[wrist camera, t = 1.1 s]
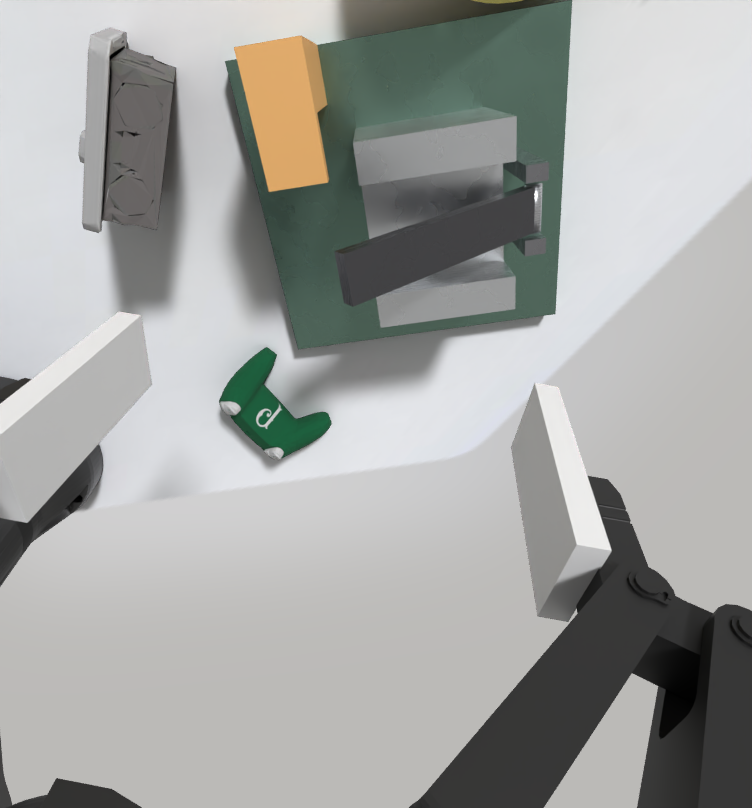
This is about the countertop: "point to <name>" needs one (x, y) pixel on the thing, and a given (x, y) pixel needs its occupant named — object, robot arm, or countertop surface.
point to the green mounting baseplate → (426, 170)
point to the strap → (437, 243)
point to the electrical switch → (124, 133)
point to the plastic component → (497, 1)
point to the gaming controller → (268, 411)
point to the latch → (286, 109)
